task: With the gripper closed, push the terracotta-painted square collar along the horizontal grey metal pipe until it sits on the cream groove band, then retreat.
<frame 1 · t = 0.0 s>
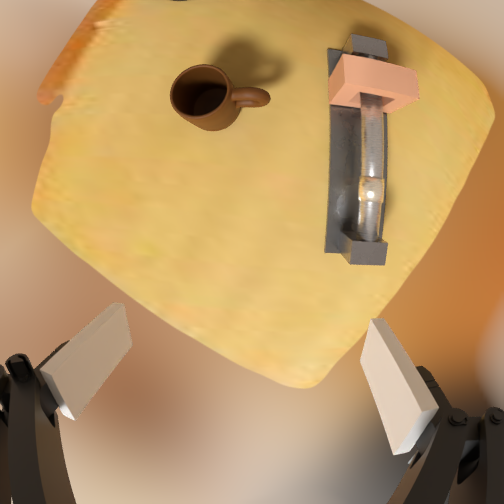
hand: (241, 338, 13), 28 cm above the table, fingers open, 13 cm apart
pipe rig: (358, 147, 36), on the table
mug: (230, 109, 36), on the table
collar: (370, 86, 28), point 6 cm above the table, slide at 0.0 cm
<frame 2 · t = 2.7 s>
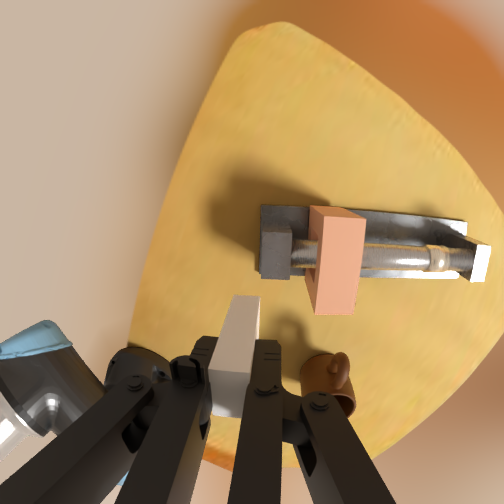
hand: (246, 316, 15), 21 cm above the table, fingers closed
pipe rig: (377, 244, 34), on the table
mug: (325, 359, 40), on the table
collar: (330, 254, 29), point 6 cm above the table, slide at 0.0 cm
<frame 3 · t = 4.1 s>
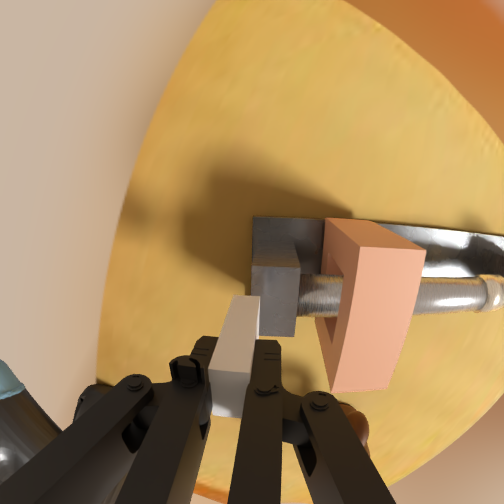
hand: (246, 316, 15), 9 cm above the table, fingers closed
pipe rig: (413, 271, 23), on the table
mug: (335, 408, 29), on the table
collar: (357, 296, 18), point 6 cm above the table, slide at 0.0 cm
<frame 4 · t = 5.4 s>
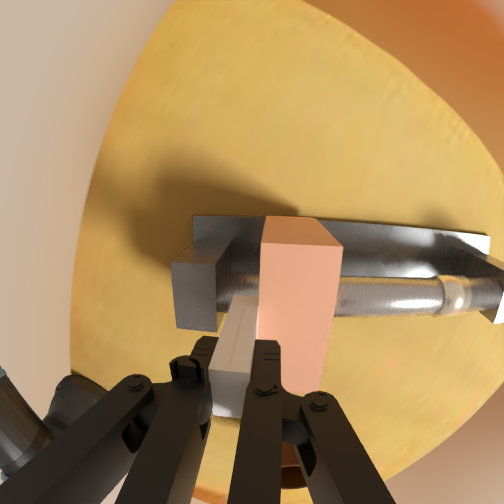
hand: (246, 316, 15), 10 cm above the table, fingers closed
pipe rig: (366, 270, 24), on the table
mug: (294, 409, 30), on the table
collar: (290, 295, 19), point 6 cm above the table, slide at 0.4 cm, touching gripper
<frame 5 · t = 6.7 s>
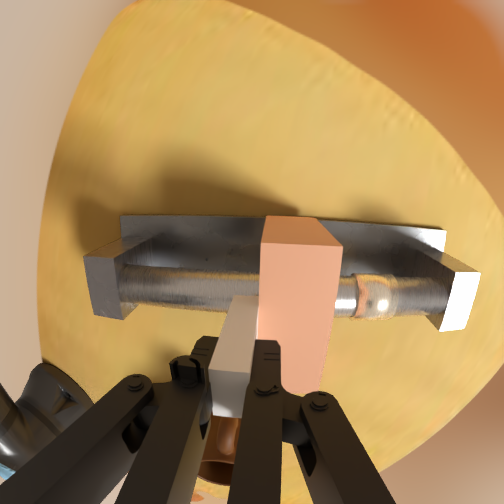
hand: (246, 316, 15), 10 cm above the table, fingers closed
pipe rig: (287, 267, 24), on the table
mug: (234, 406, 30), on the table
collar: (290, 295, 19), point 6 cm above the table, slide at 8.0 cm, touching gripper
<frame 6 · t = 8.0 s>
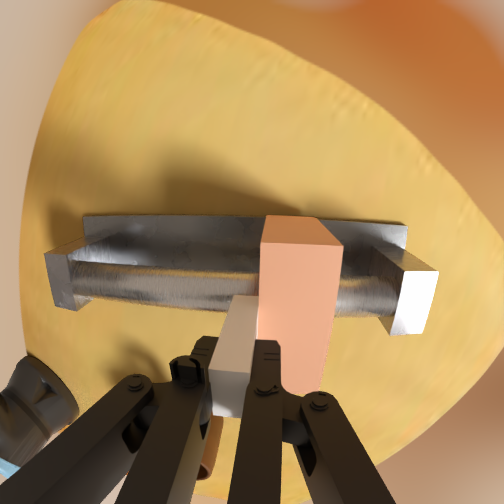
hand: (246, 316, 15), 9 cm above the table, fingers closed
pipe rig: (232, 264, 25), on the table
mug: (196, 401, 30), on the table
collar: (290, 295, 19), point 6 cm above the table, slide at 13.0 cm, touching gripper
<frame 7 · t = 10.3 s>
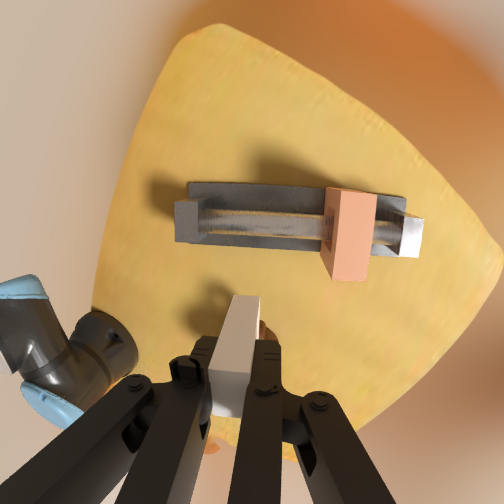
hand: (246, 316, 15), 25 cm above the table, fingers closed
pipe rig: (299, 218, 38), on the table
collar: (344, 229, 32), point 6 cm above the table, slide at 13.2 cm
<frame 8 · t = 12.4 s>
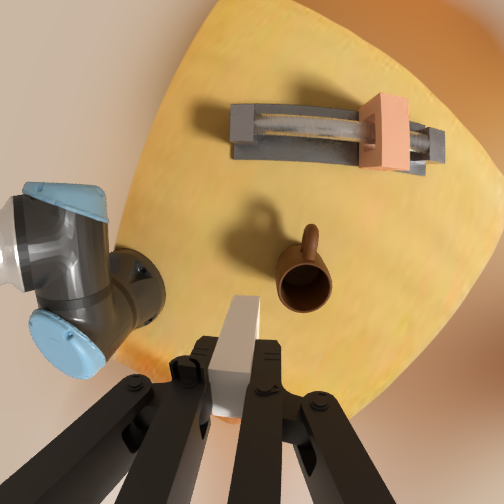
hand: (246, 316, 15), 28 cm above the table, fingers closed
pipe rig: (337, 136, 38), on the table
mug: (301, 252, 44), on the table
collar: (382, 135, 32), point 6 cm above the table, slide at 13.2 cm
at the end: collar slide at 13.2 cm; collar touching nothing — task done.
